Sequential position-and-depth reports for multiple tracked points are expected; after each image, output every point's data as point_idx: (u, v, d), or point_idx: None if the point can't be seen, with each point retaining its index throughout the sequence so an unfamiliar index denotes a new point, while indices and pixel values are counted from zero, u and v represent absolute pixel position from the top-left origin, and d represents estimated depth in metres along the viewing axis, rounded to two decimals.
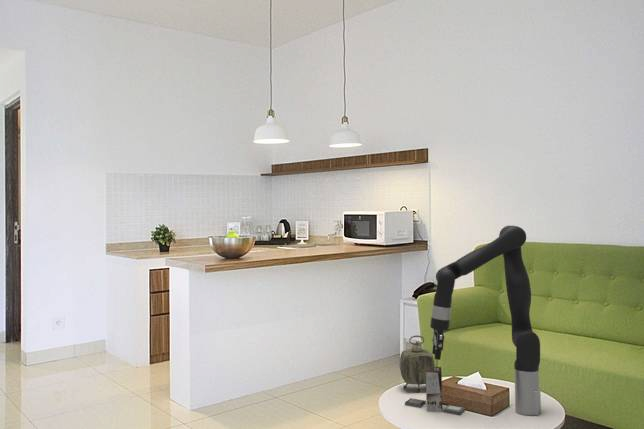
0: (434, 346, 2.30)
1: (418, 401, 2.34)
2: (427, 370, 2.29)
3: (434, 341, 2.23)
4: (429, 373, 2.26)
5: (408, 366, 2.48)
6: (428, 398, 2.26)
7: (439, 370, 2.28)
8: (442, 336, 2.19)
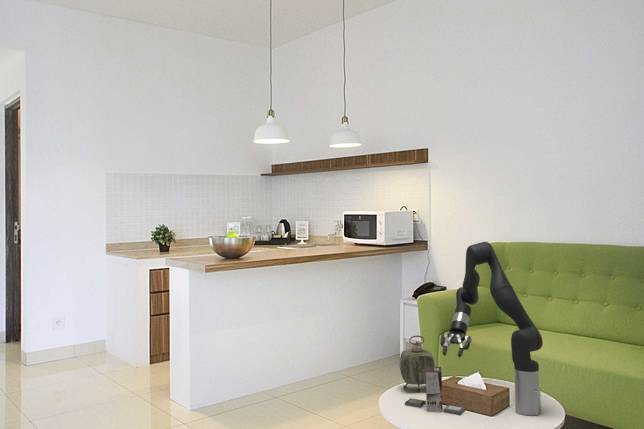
0: None
1: (418, 401, 2.34)
2: (427, 370, 2.29)
3: (451, 343, 2.54)
4: (429, 373, 2.26)
5: (408, 366, 2.48)
6: (428, 398, 2.26)
7: (439, 370, 2.28)
8: None
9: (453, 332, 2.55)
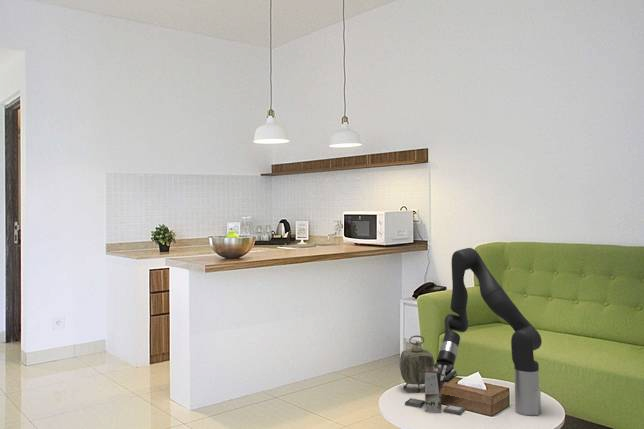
0: None
1: (418, 401, 2.34)
2: (426, 370, 2.28)
3: None
4: (428, 373, 2.25)
5: (408, 366, 2.48)
6: (427, 399, 2.25)
7: (438, 370, 2.27)
8: None
9: (440, 363, 2.41)
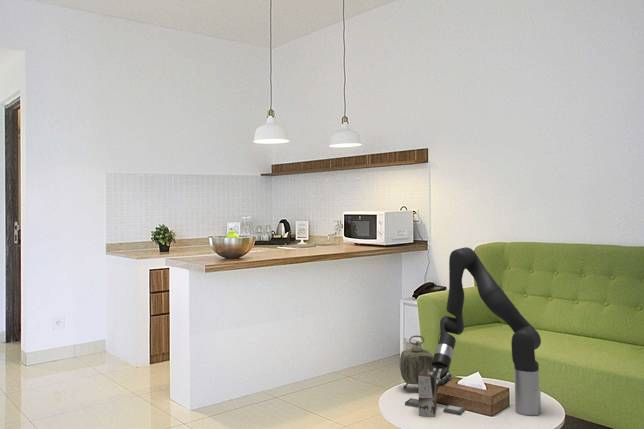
0: None
1: (418, 401, 2.34)
2: (420, 374, 2.24)
3: None
4: (421, 377, 2.21)
5: (408, 366, 2.48)
6: (420, 402, 2.21)
7: (432, 374, 2.22)
8: None
9: (435, 366, 2.36)
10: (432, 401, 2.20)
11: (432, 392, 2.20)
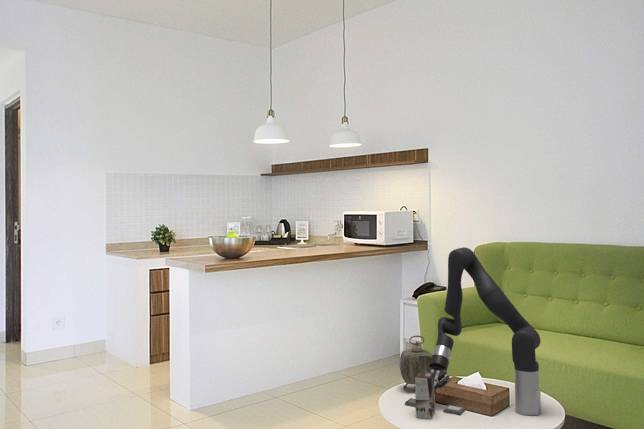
0: None
1: None
2: (417, 375, 2.22)
3: None
4: (418, 378, 2.19)
5: (408, 366, 2.48)
6: (417, 404, 2.19)
7: (429, 376, 2.20)
8: None
9: (433, 367, 2.34)
10: (429, 403, 2.17)
11: (429, 394, 2.17)
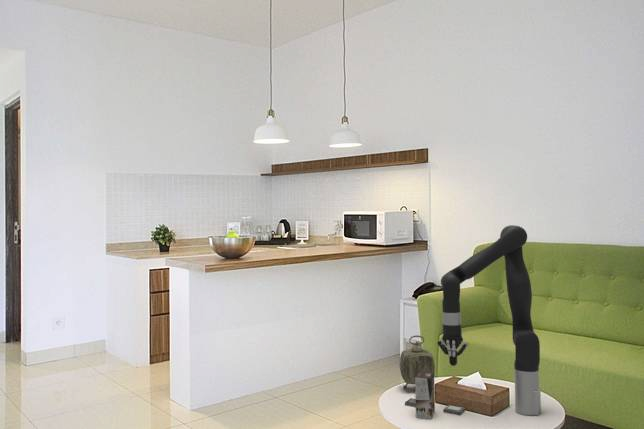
0: None
1: None
2: (417, 375, 2.22)
3: (452, 347, 2.24)
4: (418, 378, 2.19)
5: (408, 366, 2.48)
6: (417, 404, 2.19)
7: (429, 376, 2.20)
8: (467, 345, 2.23)
9: None
10: (429, 403, 2.17)
11: (429, 394, 2.17)
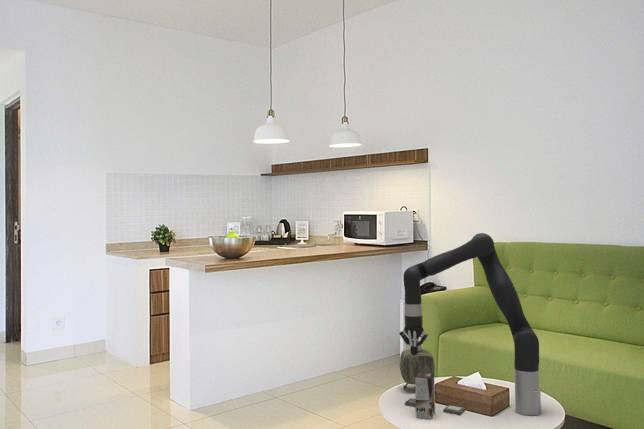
0: None
1: None
2: (417, 375, 2.22)
3: (413, 338, 2.33)
4: (418, 379, 2.19)
5: (408, 366, 2.48)
6: (417, 404, 2.19)
7: (429, 376, 2.20)
8: (427, 336, 2.32)
9: None
10: (429, 403, 2.17)
11: (429, 394, 2.17)
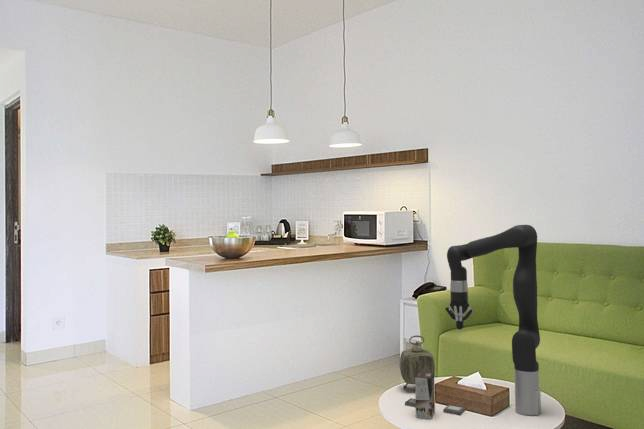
0: None
1: None
2: (417, 375, 2.22)
3: (459, 313, 2.44)
4: (418, 379, 2.19)
5: (408, 366, 2.48)
6: (417, 404, 2.19)
7: (429, 376, 2.20)
8: None
9: None
10: (429, 403, 2.17)
11: (429, 394, 2.17)
